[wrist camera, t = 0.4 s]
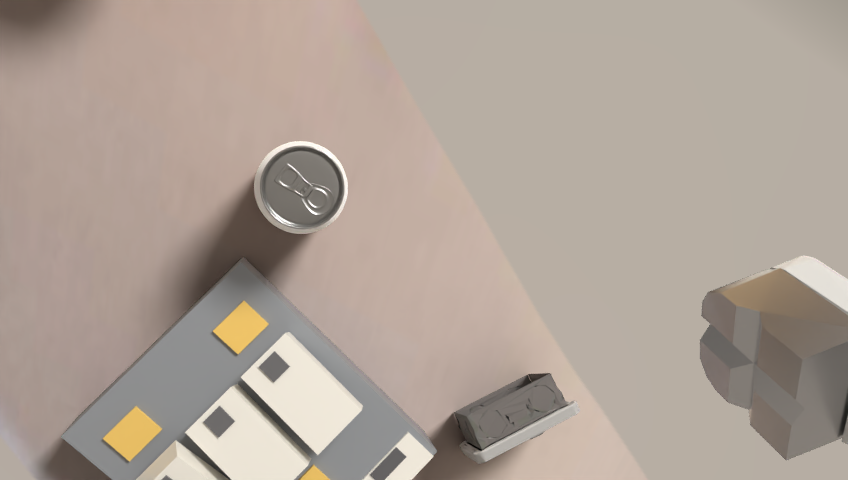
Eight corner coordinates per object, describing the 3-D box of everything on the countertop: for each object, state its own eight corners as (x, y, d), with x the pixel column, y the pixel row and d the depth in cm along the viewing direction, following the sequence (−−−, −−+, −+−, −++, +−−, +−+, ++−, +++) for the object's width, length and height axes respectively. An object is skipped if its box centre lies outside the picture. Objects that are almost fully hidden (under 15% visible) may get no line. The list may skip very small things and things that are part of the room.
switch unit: (424, 431, 63) (439, 454, 57) (276, 584, 61) (278, 624, 55) (243, 256, 59) (240, 263, 53) (78, 415, 57) (58, 440, 51)
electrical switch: (460, 453, 64) (488, 485, 55) (437, 401, 64) (461, 425, 55) (550, 406, 66) (592, 430, 56) (528, 355, 65) (566, 371, 56)
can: (304, 242, 60) (313, 254, 48) (239, 196, 58) (233, 197, 47) (350, 181, 60) (369, 178, 48) (287, 134, 59) (292, 119, 47)
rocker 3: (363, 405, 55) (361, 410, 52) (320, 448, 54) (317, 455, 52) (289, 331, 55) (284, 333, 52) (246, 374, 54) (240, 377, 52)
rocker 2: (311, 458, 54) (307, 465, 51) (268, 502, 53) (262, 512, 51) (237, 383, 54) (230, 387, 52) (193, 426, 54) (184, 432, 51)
